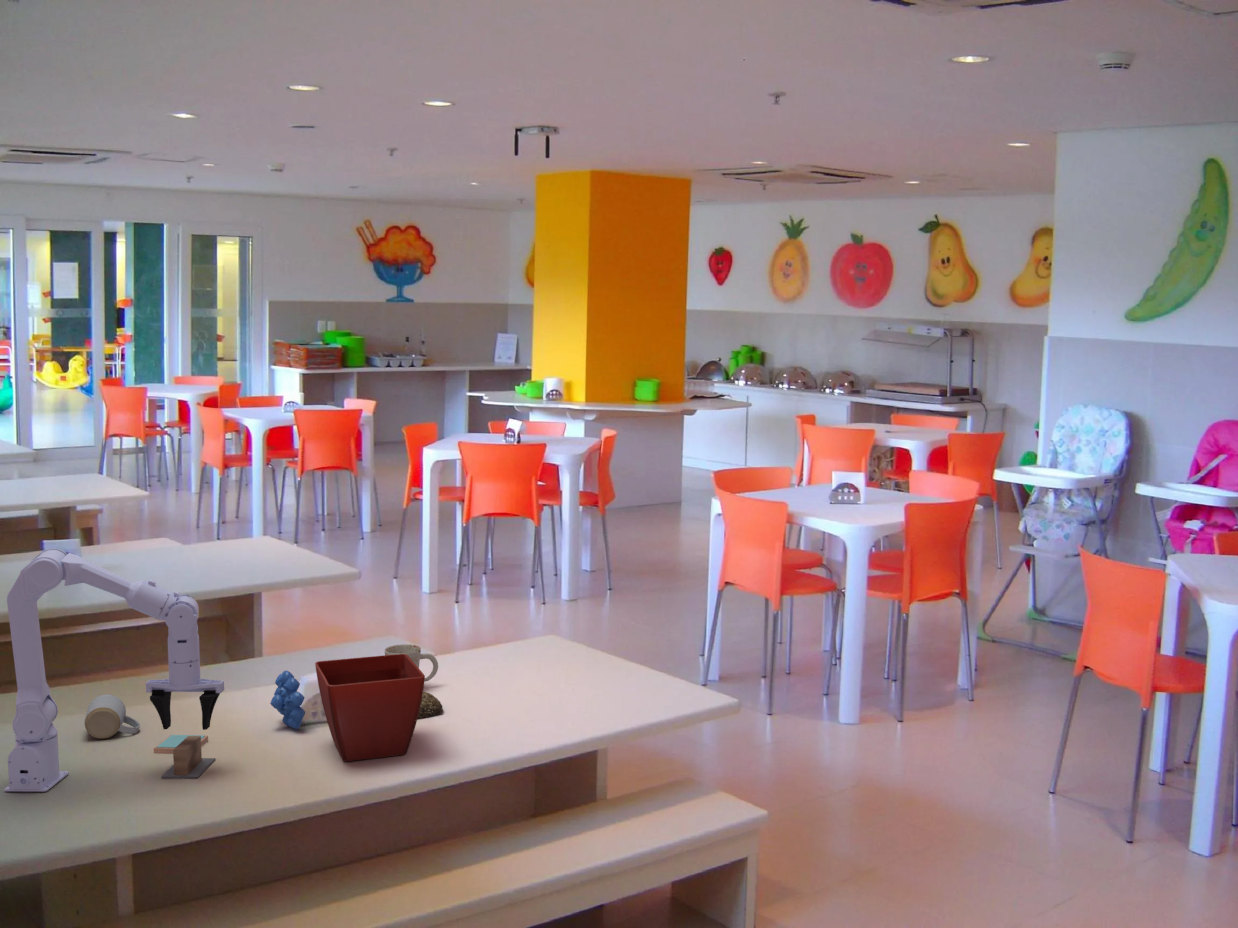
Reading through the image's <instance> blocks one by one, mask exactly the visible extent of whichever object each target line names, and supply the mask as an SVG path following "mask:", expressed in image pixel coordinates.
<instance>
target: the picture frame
mask: <svg viewBox="0 0 1238 928" xmlns="http://www.w3.org/2000/svg"><path fill="white" fill-rule="evenodd" d="M187 736H201V747H203V746H204V745H205V744H206V743H207V742H208V741H209V735H202V734H200V735H197V734H195V735H194V734H170V735H168V736H167V737H166V738H164V739H163V740H162V741H160V742H159V743H158V744H157V745H156V746H154V747H153V753H154V754H170V755H171V754H172V755H173V750H174V749H175V748H176V747H177V746H178V745H179V744H180V743H181V742H182V741H183V740H184V739H185V738H186V737H187ZM202 745H203V746H202Z"/></svg>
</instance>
